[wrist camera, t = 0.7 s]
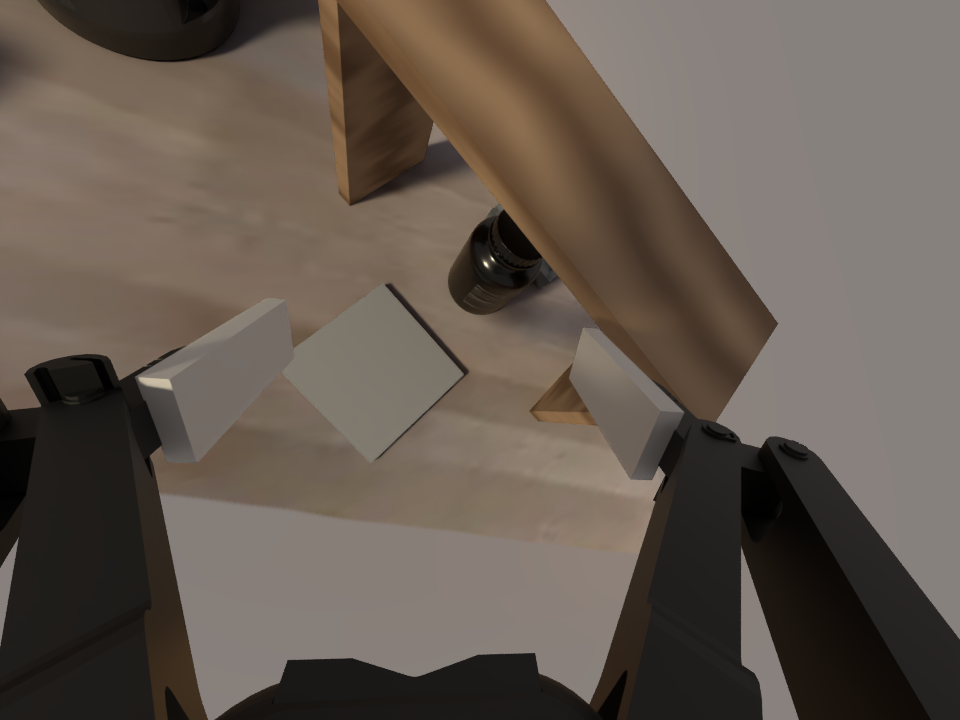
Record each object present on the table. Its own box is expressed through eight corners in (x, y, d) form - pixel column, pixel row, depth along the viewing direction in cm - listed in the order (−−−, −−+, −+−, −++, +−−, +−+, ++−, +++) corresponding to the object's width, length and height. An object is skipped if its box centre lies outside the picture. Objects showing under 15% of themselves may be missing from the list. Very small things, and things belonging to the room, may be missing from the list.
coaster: (275, 365, 30) (273, 363, 29) (382, 285, 34) (382, 282, 33) (370, 462, 31) (370, 463, 30) (462, 375, 35) (464, 374, 34)
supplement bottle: (517, 292, 38) (580, 245, 27) (474, 328, 36) (525, 293, 25) (478, 244, 38) (528, 174, 26) (433, 278, 35) (465, 217, 24)
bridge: (538, 421, 37) (707, 433, 19) (339, 193, 33) (311, -66, 15) (590, 361, 40) (778, 323, 22) (414, 148, 37) (466, -110, 18)
